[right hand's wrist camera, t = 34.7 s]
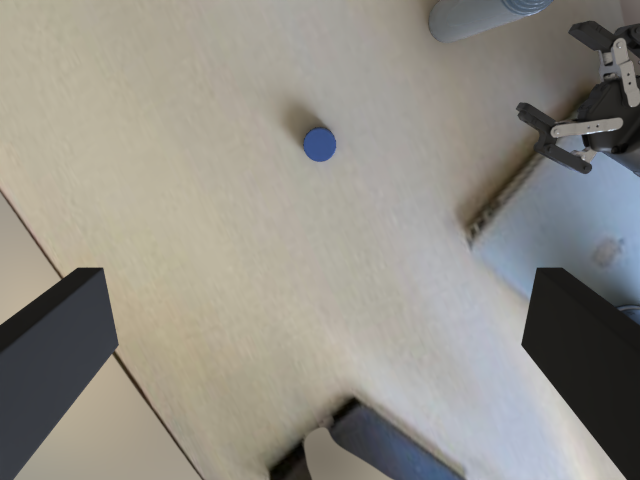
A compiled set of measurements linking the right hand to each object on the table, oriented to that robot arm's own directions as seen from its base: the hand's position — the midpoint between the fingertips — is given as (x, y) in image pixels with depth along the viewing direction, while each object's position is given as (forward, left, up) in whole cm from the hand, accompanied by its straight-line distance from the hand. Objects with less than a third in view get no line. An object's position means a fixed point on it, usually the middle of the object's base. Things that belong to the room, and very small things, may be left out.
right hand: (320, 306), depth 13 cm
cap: (0, 0, -39) cm, 39 cm away
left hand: (-3, +25, -34) cm, 42 cm away
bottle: (-10, +17, -41) cm, 45 cm away
